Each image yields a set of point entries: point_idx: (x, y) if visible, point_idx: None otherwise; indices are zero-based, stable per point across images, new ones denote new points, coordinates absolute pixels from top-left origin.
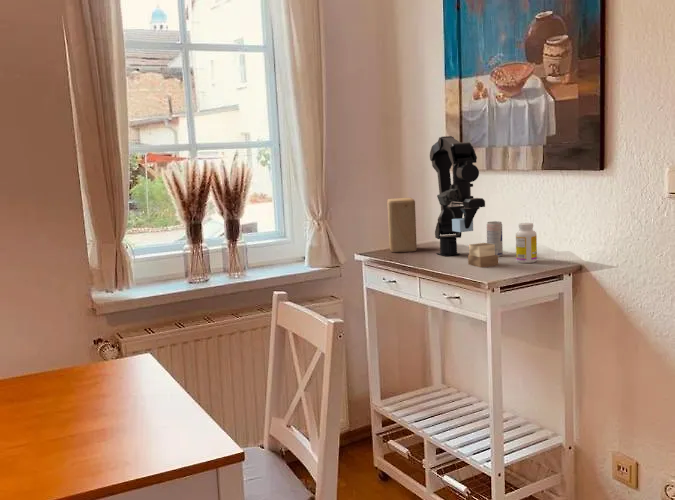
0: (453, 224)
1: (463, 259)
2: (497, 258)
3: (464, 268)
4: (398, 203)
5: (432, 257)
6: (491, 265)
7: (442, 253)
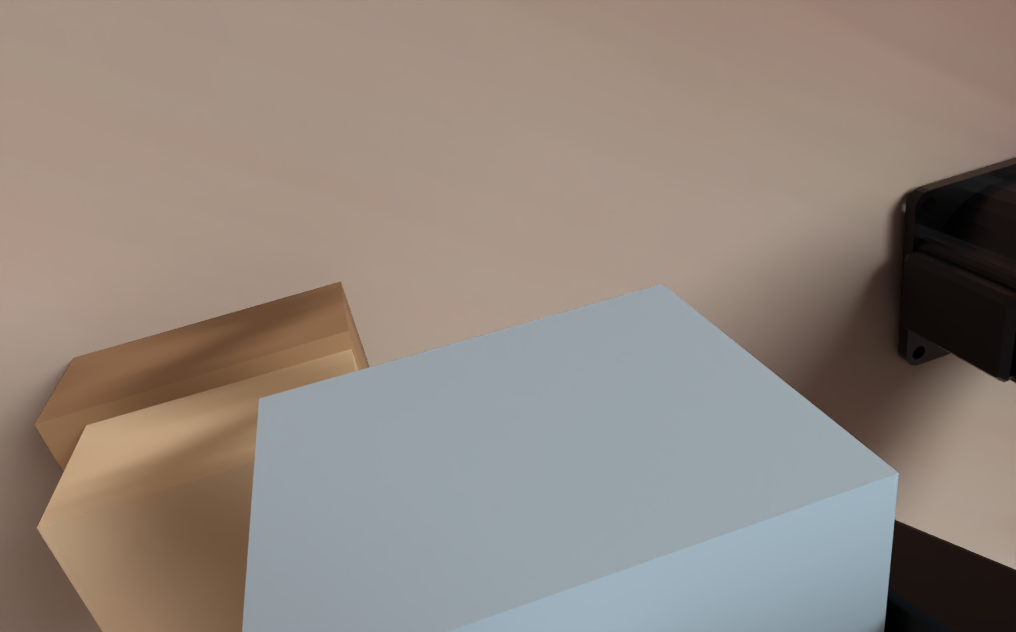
0: (688, 392)
1: None
2: None
3: (51, 152)
4: None
5: (965, 33)
6: None
7: (995, 185)
